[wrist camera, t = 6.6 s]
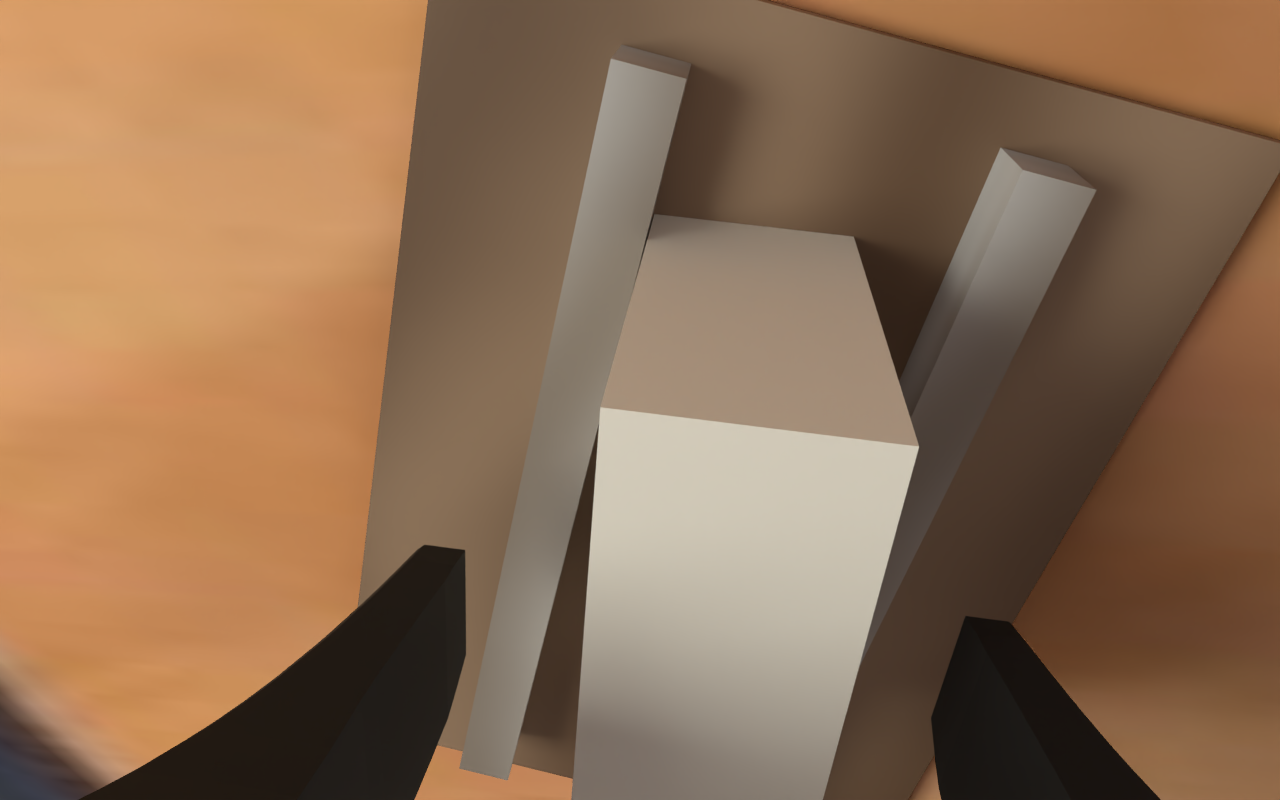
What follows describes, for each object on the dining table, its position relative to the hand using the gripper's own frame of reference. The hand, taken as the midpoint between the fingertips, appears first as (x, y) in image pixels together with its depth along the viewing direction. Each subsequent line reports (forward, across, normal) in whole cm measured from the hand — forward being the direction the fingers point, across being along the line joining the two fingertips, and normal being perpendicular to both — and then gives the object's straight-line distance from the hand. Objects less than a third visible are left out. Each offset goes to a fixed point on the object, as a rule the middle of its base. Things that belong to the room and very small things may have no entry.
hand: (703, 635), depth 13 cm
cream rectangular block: (+3, 0, -1) cm, 3 cm away
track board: (+4, 0, 0) cm, 4 cm away
